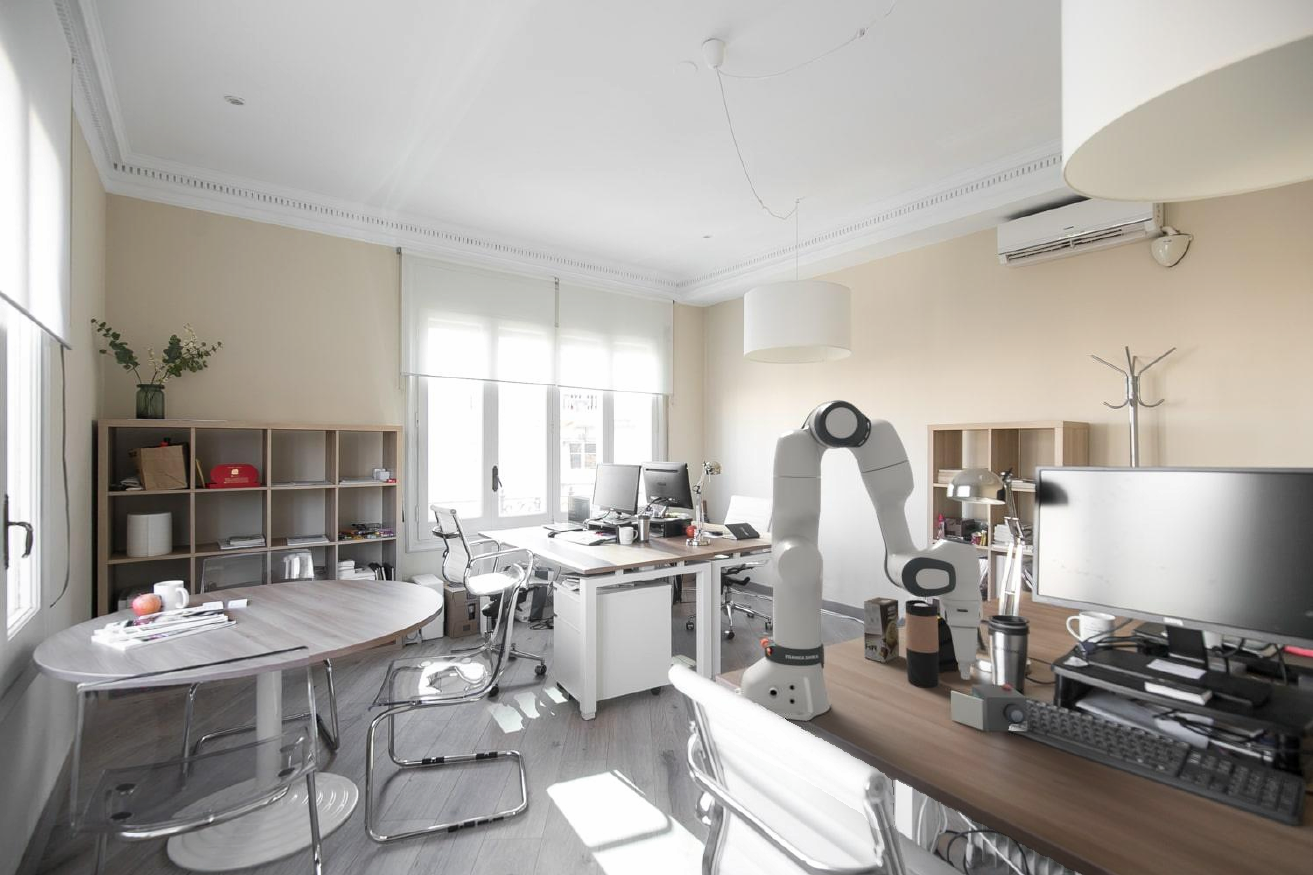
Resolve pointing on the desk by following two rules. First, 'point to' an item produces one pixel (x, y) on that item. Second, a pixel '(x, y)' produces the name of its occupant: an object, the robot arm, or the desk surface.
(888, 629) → the coffee box
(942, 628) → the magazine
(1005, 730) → the camera block
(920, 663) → the travel mug
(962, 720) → the side door
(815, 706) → the robot arm
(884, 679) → the desk surface
